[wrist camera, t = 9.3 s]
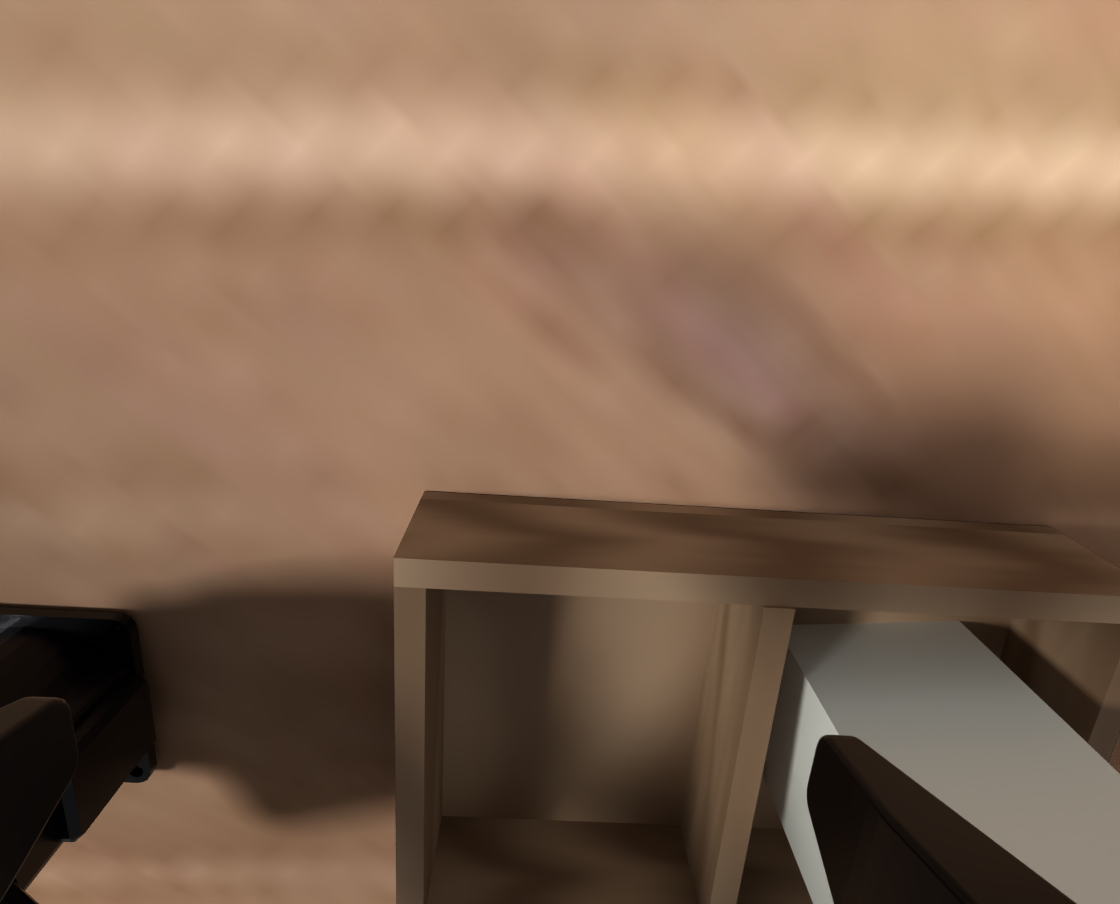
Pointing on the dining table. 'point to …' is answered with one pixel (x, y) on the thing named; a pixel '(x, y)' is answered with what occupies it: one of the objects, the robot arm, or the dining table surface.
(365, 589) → the dining table surface
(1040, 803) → the box
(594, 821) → the crate
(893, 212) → the dining table surface
